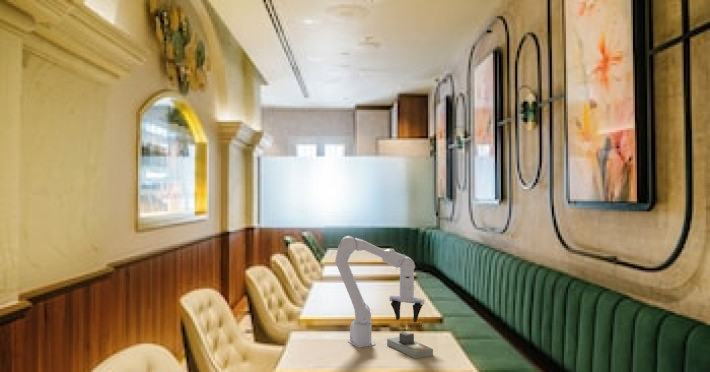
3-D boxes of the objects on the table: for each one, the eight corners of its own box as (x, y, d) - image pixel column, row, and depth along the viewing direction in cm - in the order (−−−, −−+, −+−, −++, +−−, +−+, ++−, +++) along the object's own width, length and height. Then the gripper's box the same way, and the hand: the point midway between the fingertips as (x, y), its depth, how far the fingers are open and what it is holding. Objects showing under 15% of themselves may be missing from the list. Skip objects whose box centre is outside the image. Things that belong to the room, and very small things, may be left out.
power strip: (387, 345, 213) (387, 337, 213) (403, 342, 217) (403, 335, 217) (415, 358, 195) (415, 350, 196) (433, 355, 199) (433, 347, 199)
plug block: (399, 347, 208) (399, 332, 209) (407, 346, 211) (407, 330, 211) (406, 350, 205) (406, 334, 205) (413, 348, 207) (413, 333, 208)
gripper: (386, 286, 215) (386, 320, 215) (419, 290, 209) (419, 324, 208) (393, 284, 222) (393, 316, 221) (426, 287, 215) (426, 321, 214)
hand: (406, 320), depth 215 cm, fingers open, 7 cm apart
